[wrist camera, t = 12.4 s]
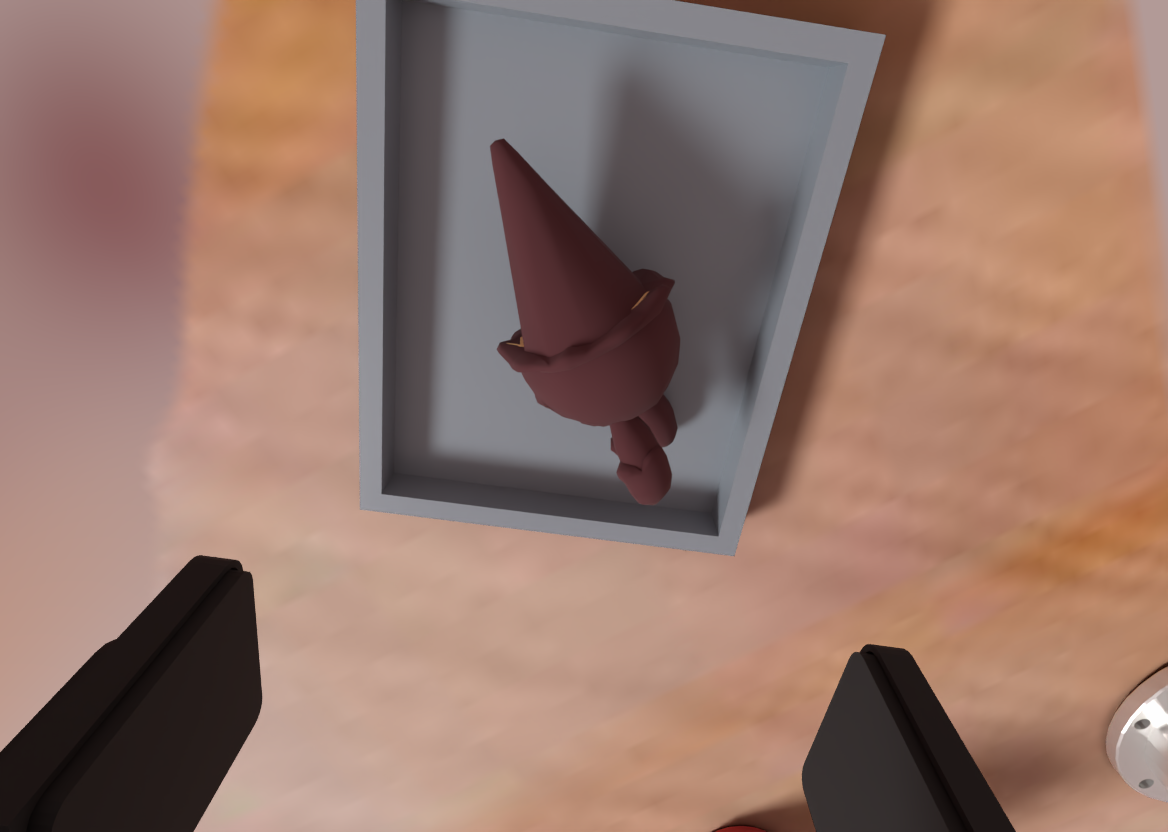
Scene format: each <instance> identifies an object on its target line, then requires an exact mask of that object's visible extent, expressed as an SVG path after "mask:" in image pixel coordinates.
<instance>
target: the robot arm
mask: <svg viewBox="0 0 1168 832" xmlns="http://www.w3.org/2000/svg"><path fill="white" fill-rule="evenodd" d="M261 705H262V688H261V675H260V663H259V650H258V638H257V625H256V613H255V601H254V588H253V578H252V575H251V573H250V572H247V571H243V568H242V564H241V563H240V562H239V561H237V560H232V559H224V558H217V557H209V556H202V555H199V556H196V557H194V558H193V559H192V560H190V561H189V562H188V563H187V565H186V566H185V567H184V568H183V569H182V570H181V571H180V572H179V573H178V574H177V575H176V576H175V577H174V578H173V579H172V581H171V582H170V583H169V584H168V585H167V586H166V587H165V588H164V589H163V590H162V591H161V592H160V593H159V594H158V595H157V597H156V598H155V599H154V600H153V601H152V602H151V603H150V604H149V605H148V606H147V607H146V608H145V609H144V610H143V612H142V613H141V614H140V615H139V616H138V617H137V618H136V619H135V620H134V621H133V622H132V623H131V624H130V625H129V627H128V628H127V629H126V630H125V631H124V632H123V633H122V634H121V635H120V636H119V637H118V638H117V639H115V640H113V641H111V642H109V643H106V644H105V645H104V646H103V647H101V648H100V649H99V650H98V651H97V652H95V653H94V655H93V656H92V657H91V658H90V659H89V660H88V661H87V662H86V663H85V664H84V665H83V666H82V667H81V668H80V669H79V670H78V671H77V672H76V673H75V675H73V677H72V678H71V679H70V680H69V681H68V682H67V683H66V684H65V685H64V686H63V687H62V688H61V689H60V691H58V692H57V693H56V694H55V695H54V696H53V698H52V699H51V700H50V701H49V702H48V703H47V704H46V705H45V706H44V707H43V708H42V709H41V710H40V711H39V712H38V713H37V714H36V715H35V716H34V717H33V719H32V720H31V721H30V722H29V723H28V724H27V725H26V726H25V727H24V728H23V729H22V730H21V731H20V732H19V733H18V734H17V735H16V736H15V737H14V738H13V740H12V741H11V742H10V743H9V744H8V745H7V746H6V747H5V748H4V749H3V750H2V751H1V752H0V832H193V831H194V830H195V828H196V826H197V824H198V823H199V821H200V819H201V817H202V816H203V814H204V812H205V811H206V809H207V807H208V805H209V804H210V802H211V800H212V798H213V797H214V795H215V793H216V791H217V790H218V788H219V786H220V784H221V783H222V781H223V779H224V777H225V776H226V774H227V772H228V770H229V769H230V767H231V765H232V763H233V762H234V760H235V758H236V756H237V755H238V753H239V751H240V749H241V748H242V746H243V744H244V742H245V741H246V739H247V737H248V735H249V734H250V732H251V730H252V728H253V727H254V725H255V723H256V721H257V719H258V716H259V713H260V709H261ZM1106 750H1107V755H1108V757H1109V760H1110V762H1111V764H1112V766H1113V767H1114V768H1115V770H1116V771H1117V772H1118V773H1119V774H1120V776H1121V777H1122V778H1123V780H1124V781H1125V782H1126V783H1127V784H1128V785H1129V786H1130V787H1131V788H1133V789H1134V790H1135V791H1137V792H1139V793H1141V794H1143V795H1145V796H1147V797H1149V798H1153V799H1156V800H1160V801H1164V802H1168V666H1167V667H1166V668H1164V669H1162V670H1160V671H1158V672H1157V673H1155V674H1154V675H1153V676H1151V677H1150V678H1149V679H1147V680H1146V681H1144V682H1143V683H1142V684H1140V685H1139V686H1138V687H1137V688H1136V689H1135V690H1134V691H1133V692H1132V693H1131V694H1130V695H1129V696H1128V697H1127V698H1126V699H1125V700H1124V702H1123V703H1122V704H1121V706H1120V707H1119V708H1118V710H1117V711H1116V712H1115V714H1114V717H1113V719H1112V721H1111V723H1110V725H1109V727H1108V732H1107V737H1106ZM802 784H803V790H804V794H805V797H806V800H807V803H808V807H809V810H810V813H811V816H812V820H813V823H814V826H815V829H816V832H1016V831H1015V829H1014V828H1013V826H1012V824H1011V823H1010V821H1009V819H1008V818H1007V816H1006V814H1005V813H1004V811H1003V809H1002V807H1001V806H1000V804H999V802H998V801H997V799H996V797H995V796H994V794H993V792H992V790H991V789H990V787H989V785H988V784H987V782H986V780H985V779H984V777H983V775H982V774H981V772H980V770H979V768H978V767H977V765H976V763H975V762H974V760H973V758H972V757H971V755H970V753H969V752H968V750H967V748H966V746H965V745H964V743H963V741H962V740H961V738H960V736H959V735H958V733H957V731H956V729H955V728H954V726H953V724H952V723H951V721H950V719H949V718H948V716H947V714H946V713H945V711H944V709H943V707H942V706H941V704H940V702H939V701H938V699H937V697H936V696H935V694H934V692H933V690H932V689H931V687H930V685H929V684H928V682H927V680H926V679H925V677H924V675H923V674H922V672H921V670H920V668H919V667H918V665H917V663H916V662H915V660H914V658H913V657H912V655H911V654H910V653H909V652H908V651H907V650H905V649H902V648H894V647H887V646H879V645H872V644H867V645H865V646H864V647H863V648H862V650H861V651H860V652H854V653H853V654H852V655H851V656H850V658H849V660H848V663H847V665H846V667H845V670H844V672H843V674H842V677H841V679H840V681H839V684H838V686H837V688H836V691H835V693H834V695H833V698H832V700H831V702H830V705H829V707H828V709H827V712H826V714H825V716H824V719H823V721H822V723H821V726H820V728H819V730H818V733H817V735H816V737H815V740H814V742H813V744H812V747H811V749H810V751H809V753H808V756H807V758H806V760H805V763H804V766H803V771H802Z"/></svg>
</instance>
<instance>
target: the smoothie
mask: <svg viewBox="0 0 1168 832" xmlns="http://www.w3.org/2000/svg"><path fill="white" fill-rule="evenodd" d="M715 832H767V831H764V830H761V829H759V828H756V827H748V826H734V827H727V828H724V829H721V830H717V831H715Z"/></svg>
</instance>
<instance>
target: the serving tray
mask: <svg viewBox="0 0 1168 832" xmlns="http://www.w3.org/2000/svg"><path fill="white" fill-rule="evenodd" d="M885 37H886V35H883V34H877V33H871V32H865V31H859V30H853V29H847V28H840V27H834V26H828V25H822V24H816V23H810V22H804V21H798V20H791V19H785V18H779V17H773V16H767V15H761V14H755V13H748V12H742V11H736V10H730V9H724V8H718V7H712V6H705V5H699V4H693V3H687V2H681V1H675V0H356V71H357V197H358V323H359V449H360V509H361V510H369V511H377V512H385V513H393V514H401V515H409V516H417V517H425V518H433V519H441V520H449V521H457V522H465V523H473V524H481V525H489V526H497V527H505V528H513V529H521V530H529V531H537V532H545V533H553V534H561V535H569V536H577V537H585V538H593V539H601V540H609V541H617V542H625V543H633V544H641V545H649V546H657V547H665V548H673V549H681V550H689V551H697V552H705V553H713V554H721V555H729V556H734V555H735V552H736V549H737V545H738V542H739V538H740V535H741V531H742V528H743V524H744V521H745V518H746V514H747V511H748V507H749V504H750V500H751V497H752V494H753V490H754V487H755V483H756V480H757V476H758V473H759V470H760V466H761V463H762V459H763V456H764V452H765V449H766V445H767V442H768V439H769V435H770V432H771V428H772V425H773V421H774V418H775V415H776V411H777V408H778V404H779V401H780V397H781V394H782V390H783V387H784V384H785V380H786V377H787V373H788V370H789V366H790V363H791V360H792V356H793V353H794V349H795V346H796V342H797V339H798V336H799V332H800V329H801V325H802V322H803V318H804V315H805V311H806V308H807V305H808V301H809V298H810V294H811V291H812V287H813V284H814V281H815V277H816V274H817V270H818V267H819V263H820V260H821V257H822V253H823V250H824V246H825V243H826V239H827V236H828V232H829V229H830V226H831V222H832V219H833V215H834V212H835V208H836V205H837V202H838V198H839V195H840V191H841V188H842V184H843V181H844V177H845V174H846V171H847V167H848V164H849V160H850V157H851V153H852V150H853V147H854V143H855V140H856V136H857V133H858V129H859V126H860V123H861V119H862V116H863V112H864V109H865V105H866V102H867V98H868V95H869V92H870V88H871V85H872V81H873V78H874V74H875V71H876V68H877V64H878V61H879V57H880V54H881V50H882V47H883V44H884V40H885ZM503 138H504V139H505V140H506V141H507V142H508V143H509V144H510V145H511V146H512V147H513V148H514V149H515V150H516V151H517V152H518V153H519V154H520V155H521V156H522V157H523V158H524V159H525V160H526V161H527V163H528V164H529V165H530V166H531V167H532V168H533V169H534V170H535V171H536V172H537V173H538V174H539V175H540V176H541V178H542V179H543V180H544V181H545V182H546V183H547V184H548V185H549V186H550V187H551V188H552V189H553V190H554V191H555V192H556V193H557V194H558V196H559V197H560V198H561V199H562V200H563V201H564V202H565V203H566V204H567V205H568V206H569V207H570V208H571V209H572V210H573V211H574V212H575V213H576V214H577V215H578V216H579V217H580V218H581V219H582V220H583V222H584V223H585V224H586V225H587V226H588V227H589V228H590V229H591V230H592V231H593V232H594V233H595V234H596V235H597V236H598V237H599V238H600V239H601V240H602V241H603V242H604V243H605V244H606V245H607V247H608V248H609V249H610V250H611V251H612V252H613V253H614V254H615V255H616V256H617V257H618V258H619V259H620V260H621V261H622V262H623V263H624V264H625V265H626V266H627V267H628V268H629V269H630V270H631V271H632V272H633V271H636V270H639V269H649V270H653V271H656V272H657V273H659V274H660V275H662V276H663V277H665V278H669V279H673V280H675V284H674V286H673V288H672V290H671V292H670V294H669V296H668V298H667V299H668V300H669V301H670V302H671V304H672V308H673V312H674V316H675V320H676V323H677V327H678V331H679V335H680V350H679V361H678V365H677V367H676V370H675V372H674V374H673V377H672V379H671V381H670V383H669V386H668V387H667V389H666V390H665V392H664V395H665V397H666V398H667V399H668V401H669V402H670V404H671V406H672V408H673V410H674V415H675V419H676V423H677V427H678V429H677V433H676V436H675V439H674V441H673V442H672V443H671V444H670V445H668V446H667V447H663V448H662V449H663V450H664V452H665V454H666V455H667V458H668V461H669V464H670V468H671V472H672V481H671V488H670V489H669V491H668V492H667V494H666V495H665V496H664V497H663V498H662V499H661V500H660V501H659V502H658V503H657V504H655V505H642V504H640V503H638V502H637V501H636V500H635V498H634V497H633V496H632V495H631V494H630V492H629V490H628V488H627V486H626V485H625V483H624V482H622V481H621V480H620V479H619V478H618V476H617V473H616V472H617V469H618V466H619V463H620V460H619V457H618V455H616V454H615V453H614V452H613V451H611V438H612V434H611V430H610V425H609V426H605V427H601V426H595V427H594V426H590V425H586V424H582V423H581V422H579V421H576V420H572V419H568V418H565V417H562V416H560V415H559V414H557V413H555V412H554V411H552V410H551V409H548V408H546V407H544V406H542V405H540V404H539V403H537V400H536V398H535V394H534V392H533V391H532V389H531V388H530V387H529V385H528V384H527V382H526V381H525V379H524V377H523V375H522V373H520V372H516V371H515V370H513V369H512V368H511V366H510V365H509V363H508V362H507V361H506V360H505V359H504V358H503V357H502V356H501V355H500V354H499V353H498V351H497V347H498V345H499V343H500V342H503V341H507V340H511V337H512V335H513V334H514V333H515V332H516V331H518V330H519V329H521V326H520V320H519V315H518V309H517V303H516V297H515V291H514V286H513V280H512V274H511V268H510V262H509V257H508V251H507V245H506V239H505V234H504V228H503V222H502V216H501V210H500V205H499V199H498V194H497V188H496V183H495V177H494V171H493V166H492V158H491V151H490V145H491V144H492V143H493V142H494V141H495V140H499V139H503Z"/></svg>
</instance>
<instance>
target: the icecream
mask: <svg viewBox="0 0 1168 832" xmlns="http://www.w3.org/2000/svg"><path fill="white" fill-rule="evenodd" d="M490 151H491V158H492V166H493V171H494V177H495V183H496V188H497V194H498V199H499V205H500V210H501V216H502V222H503V228H504V234H505V239H506V245H507V251H508V257H509V262H510V268H511V274H512V280H513V286H514V291H515V297H516V303H517V309H518V315H519V320H520V326H521V329H519V330H518V331H516V332H515V333H514V334H513V335H512V337H511V340H507V341H503V342H500V343H499V345H498V347H497V351H498V353H499V354H500V355H501V356H502V357H503V358H504V359H505V360H506V361H507V362H508V363H509V365H510V366H511V368H512V369H513V370H515V371H516V372H520V373H522V375H523V377H524V379H525V381H526V382H527V384H528V385H529V387H530V388H531V389H532V391H533V392H534V394H535V398H536V400H537V403H539V404H540V405H542V406H544V407H546V408H548V409H551V410H552V411H554V412H555V413H557V414H559V415H560V416H562V417H565V418H568V419H572V420H576V421H579V422H581V423H582V424H586V425H590V426H594V427H595V426H601V427H605V426H609V425H610V430H611V434H612V438H611V451H613V452H614V453H615V454H616V455H618V457H619V460H620V463H619V466H618V469H617V472H616V473H617V476H618V478H619V479H620V480H621V481H622V482H624V483H625V485H626V486H627V488H628V490H629V492H630V494H631V495H632V496H633V497H634V498H635V500H636V501H637V502H638V503H640V504H642V505H655V504H657V503H658V502H659V501H660V500H661V499H662V498H663V497H664V496H665V495H666V494H667V492H668V491H669V489H670V488H671V481H672V472H671V468H670V464H669V461H668V458H667V455H666V454H665V452H664V450H663V449H662V448H663V447H667V446H668V445H670V444H671V443H672V442H673V441H674V439H675V436H676V433H677V429H678V427H677V423H676V419H675V415H674V410H673V408H672V406H671V404H670V402H669V401H668V399H667V398H666V397H665V395H664V392H665V390H666V389H667V387H668V386H669V383H670V381H671V379H672V377H673V374H674V372H675V370H676V367H677V365H678V361H679V350H680V335H679V331H678V327H677V323H676V320H675V316H674V312H673V308H672V304H671V302H670V301H669V300H668V299H667V298H668V296H669V294H670V292H671V290H672V288H673V286H674V284H675V280H673V279H669V278H665V277H663V276H662V275H660V274H659V273H657V272H656V271H653V270H649V269H639V270H636V271H633V272H632V271H631V270H630V269H629V268H628V267H627V266H626V265H625V264H624V263H623V262H622V261H621V260H620V259H619V258H618V257H617V256H616V255H615V254H614V253H613V252H612V251H611V250H610V249H609V248H608V247H607V245H606V244H605V243H604V242H603V241H602V240H601V239H600V238H599V237H598V236H597V235H596V234H595V233H594V232H593V231H592V230H591V229H590V228H589V227H588V226H587V225H586V224H585V223H584V222H583V220H582V219H581V218H580V217H579V216H578V215H577V214H576V213H575V212H574V211H573V210H572V209H571V208H570V207H569V206H568V205H567V204H566V203H565V202H564V201H563V200H562V199H561V198H560V197H559V196H558V194H557V193H556V192H555V191H554V190H553V189H552V188H551V187H550V186H549V185H548V184H547V183H546V182H545V181H544V180H543V179H542V178H541V176H540V175H539V174H538V173H537V172H536V171H535V170H534V169H533V168H532V167H531V166H530V165H529V164H528V163H527V161H526V160H525V159H524V158H523V157H522V156H521V155H520V154H519V153H518V152H517V151H516V150H515V149H514V148H513V147H512V146H511V145H510V144H509V143H508V142H507V141H506V140H505V139H504V138H503V139H499V140H495V141H494V142H493V143H492V144H491V145H490Z"/></svg>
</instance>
